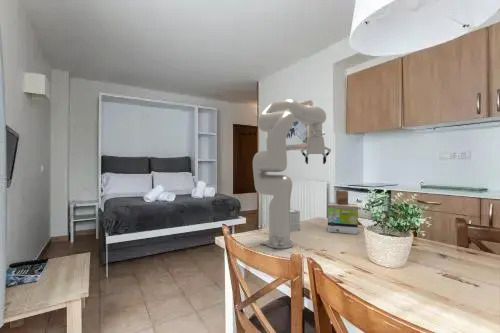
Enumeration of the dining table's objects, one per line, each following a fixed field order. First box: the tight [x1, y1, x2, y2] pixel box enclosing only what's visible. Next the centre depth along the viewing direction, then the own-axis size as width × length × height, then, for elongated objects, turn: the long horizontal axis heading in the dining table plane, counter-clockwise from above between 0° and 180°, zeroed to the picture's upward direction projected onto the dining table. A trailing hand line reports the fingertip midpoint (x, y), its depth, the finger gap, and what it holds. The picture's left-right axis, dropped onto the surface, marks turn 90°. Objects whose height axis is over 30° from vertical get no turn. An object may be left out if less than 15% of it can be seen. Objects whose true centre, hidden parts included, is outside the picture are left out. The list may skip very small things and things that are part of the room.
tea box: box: [327, 201, 359, 235], centre depth 142 cm, size 15×10×15 cm, turn 73°
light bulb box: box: [290, 207, 301, 232], centre depth 148 cm, size 11×7×11 cm, turn 25°
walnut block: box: [335, 190, 349, 205], centre depth 142 cm, size 5×5×7 cm
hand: (315, 163), depth 153 cm, fingers open, 9 cm apart
